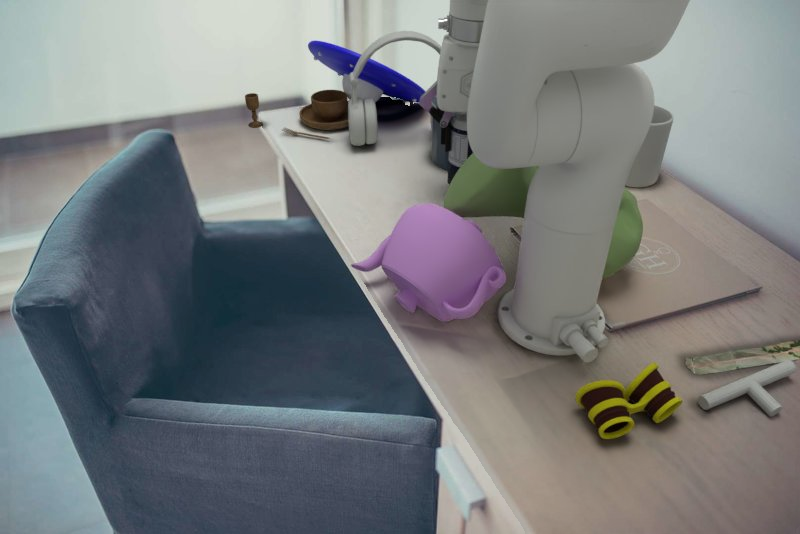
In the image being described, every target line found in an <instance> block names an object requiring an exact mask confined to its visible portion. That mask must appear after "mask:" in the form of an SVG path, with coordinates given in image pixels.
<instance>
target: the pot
mask: <svg viewBox="0 0 800 534" xmlns="http://www.w3.org/2000/svg"><path fill="white" fill-rule="evenodd" d="M452 119H453V118H451V119H450V123H451V121H452ZM440 137H441V126H440V124H439V123H438V122H437V121H436V120H435V119H434V118H433V117H432V129H431V142H430V143H431V144H430V159H431V162H432V163H433V164H434V165H435V166H437V167H439V168H441V169H443V170H446V171H448V161H449V152H445V145H442V144H440Z"/></svg>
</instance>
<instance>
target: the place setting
mask: <svg viewBox="0 0 800 534" xmlns="http://www.w3.org/2000/svg"><path fill="white" fill-rule="evenodd" d="M244 100H245V106H246V108H247V109H248V111H251V119H252V120H253V121H251V122H249V123H248V124H247V125H248V127H249V128H251V129H258V128H262V127H263V126H264V123H263V121H259V120H258V115H257V110H258V109H259V107H260V100H259V94H258V93H253V92H251V93H247V94H245V95H244ZM348 101H349V100H348V97H347V94H346V93H345V92H344V90H339V89H323V90H319V91H316V92H314V93H312V94H311V95H310V102H311V103H310V104H307V105H305V106H303V107H302V108H301V109H300V110H299V112H298V113H299V118H300V120H301V122H302V123H303V124H304V125H306V126H308V127H310V128H312V129H313V128H314V129H316V130H324V131H333V130H340V129H344V128H347V127H349V121H348ZM281 131H282V132H284V133H287V134H288V135H291V136H295V135H304V136H307V137H314V138H319V139H324V140H325V139H326V140H330V137H327V136H322V135H317V134H312V133H306V132H300V131H299V132H297V131H296V130H295V131H294V130H292V129H291V128H287V127H283V128H282V129H281Z"/></svg>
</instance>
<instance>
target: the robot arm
mask: <svg viewBox="0 0 800 534" xmlns="http://www.w3.org/2000/svg"><path fill="white" fill-rule="evenodd" d="M690 1H691V0H449V11H448V15H446V17H443V18H438V20H437V25H438V27H437V29H438V30H443V31H446V34H445V35H444V36H443V39H442V42H441V45H440V46H441V51H440V55H439V59H438V67H437V75H436V81H435V82H434V83H433V84H432V85H431V86H430V87H429V88H428V89H427V90H425V93H424V94H423V95H422V96H421V97H420V98H419V102H418V104H419V106H421V107H422V108H423V109H424V110H425V111H426V112H427V113H429V116H430V115H431V116H432V117H433V118H434V119H435V120H436V121H437V122H438V123H439V124H440V126H441V137H440V144H442V145H445V152H449V151H450V139H451V125H450V119H451V116H452V114H453V112H466V113H467V134H468V140H469V144H470V147H471V149H472V151H473V153H474V155H475V156H476V157H477V159H478V160H480V161H481V162H482V163H483V164H485V165H487V166H489V167H492V168H497V169H514V168H524V167H532V166H539V167H538V169H537V170H536V172H535V174H534V176H533V178H532V181H531V183H530V186H529V189H528V194H527V200H526V206H525V213H524V219H523V221H522V228H521V236H520V244H519V249H518V250H519V251H518V258H517V267H516V274H515V280H514V287H512V288H511V289H510V290H509V291H507V292H506V293H505V294H504V295H503V296H502V298H501V299H500V301H499V303H498V311H497V320H498V323H499V325H500V327H501V329H502V330H503V332H504V333H505V334H506V335H507V336H508V337H509V338H510V339H511V340H513V342H515V343H516V344H518V345H520V346H522V347H523V348H525V349H526V350H527V349H528V350H531V351H533V352H536V353H539V354H544V355H549V356H573V355H577V356H578V357H579V358H580V360H582V362H583V363H585V364H587V363H591V362H593V361H594V360H595V359H596V358H597V357H598V355H599V350H598V349H597V348H596V347H595V346H597V347H598V348H601V349H602V348H605V347H606V346H608V344H609V342H610V340H609V338H608V337H607V336H606V335H605V334H604V332H605V329H606V318H605V314H604V312H603V310H602V307H600V305H599V304H598V303H597V302H598V297H599V293H600V289H601V284H602V280H603V279H602V277H603V273H604V268H605V264H606V260H607V256H608V251H609V247H610V243H611V239H612V234H613V230H614V226H615V222H616V219H617V215H618V211H619V207H620V202H621V199H622V195H623V191H624V188H626V186H625V184H626V181H627V178H628V175H629V173H630V170H631V167H632V165H633V163H634V160H635V158H636V156H637V154H638V152H639V150H640V148H641V146H642V144H643V142H644V140H645V137H646V135H647V133H648V130H649V127H650V124H651V121H652V117H653V112H654V105H655V92H654V88H653V85H652V82H651V80H650V78H649V76H648V75H647V73H646V72H645V71H644V70H643V69H642V68H641V67H640V66H639V65H637V64H638V63H642V62H645V61H648V60H650V59H652V58H654V57H656V56H657V55H658V54H660V53H661V52H662V51H663V50H664V49H665V48H666V47H667V46H668V43H669V42H670V40H671V39H672V37H673V36H674V33H675V32H676V31H677V28H678V26H679V25H680V22H681V20H682V18H683V16H684V14H685V12H686V9H687V7H688V6H689V3H690ZM636 63H637V64H636ZM436 95H437V105H438V107H439V108H438V107H437V106H436V105H434V104H433V102H432V99H433V98H434V97H435V96H436ZM440 109H441V110H442V111H441V110H440Z"/></svg>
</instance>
